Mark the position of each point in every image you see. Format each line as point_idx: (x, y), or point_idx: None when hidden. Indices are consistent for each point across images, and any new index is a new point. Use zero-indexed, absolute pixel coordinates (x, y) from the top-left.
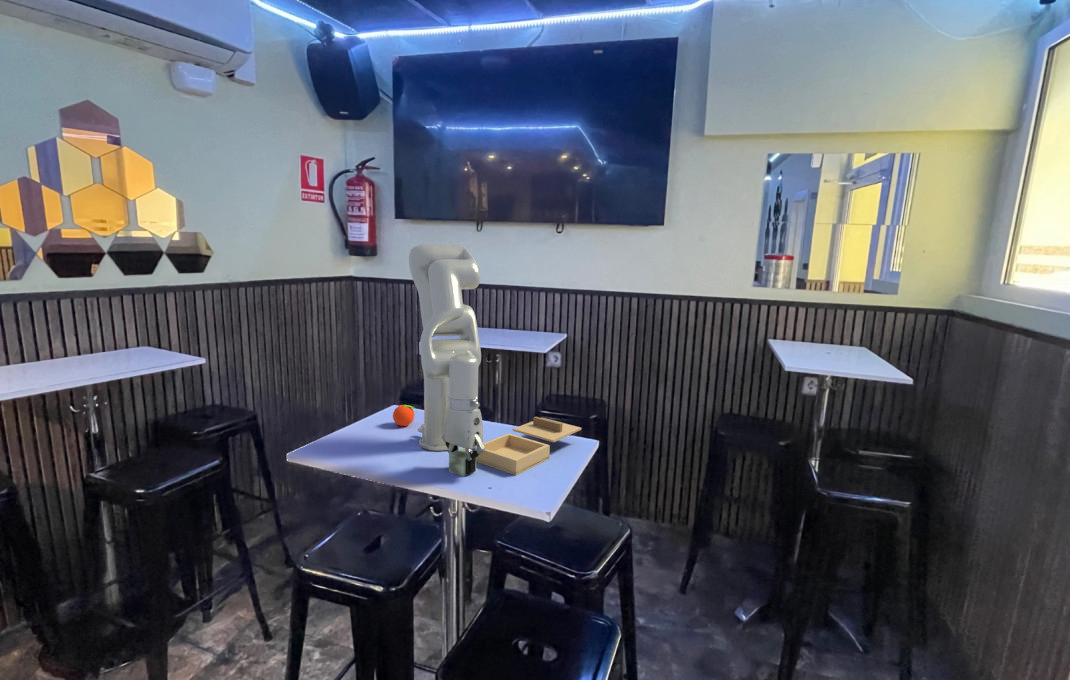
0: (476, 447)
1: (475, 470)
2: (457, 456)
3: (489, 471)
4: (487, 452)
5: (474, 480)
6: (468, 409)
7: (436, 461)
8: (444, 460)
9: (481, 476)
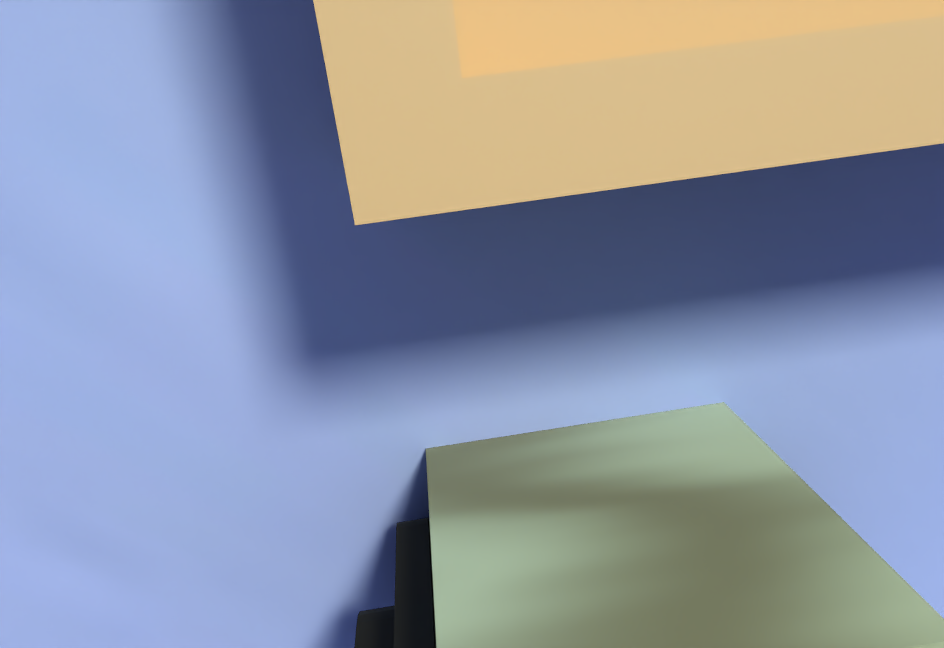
0: (447, 195)
1: (725, 415)
2: None
3: (910, 264)
4: (910, 140)
5: (914, 587)
6: None
7: (17, 644)
8: (45, 542)
9: (916, 460)
